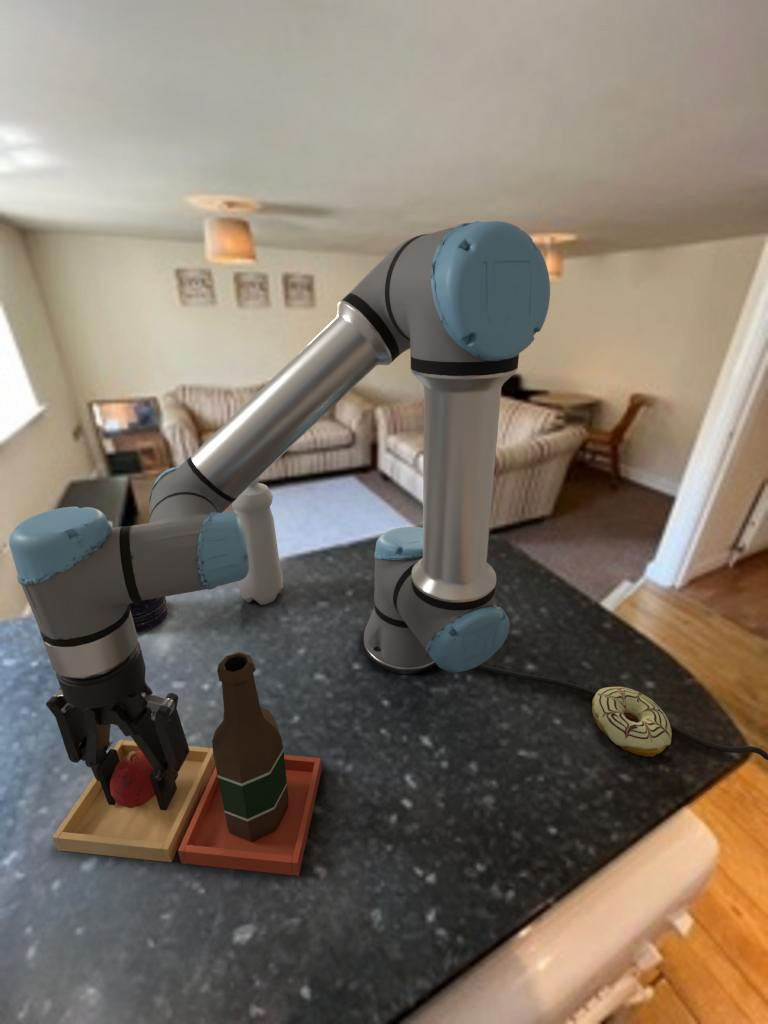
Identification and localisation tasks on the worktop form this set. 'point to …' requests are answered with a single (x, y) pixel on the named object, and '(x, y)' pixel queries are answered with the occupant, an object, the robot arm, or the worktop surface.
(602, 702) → the decorated donut
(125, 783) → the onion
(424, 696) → the worktop surface
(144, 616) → the storage jar
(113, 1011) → the worktop surface
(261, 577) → the bottle
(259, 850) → the terracotta tray
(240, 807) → the beer bottle
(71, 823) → the birch tray
